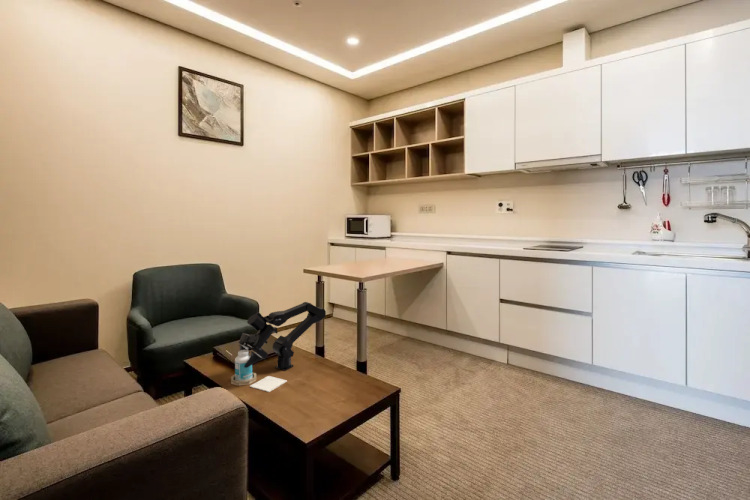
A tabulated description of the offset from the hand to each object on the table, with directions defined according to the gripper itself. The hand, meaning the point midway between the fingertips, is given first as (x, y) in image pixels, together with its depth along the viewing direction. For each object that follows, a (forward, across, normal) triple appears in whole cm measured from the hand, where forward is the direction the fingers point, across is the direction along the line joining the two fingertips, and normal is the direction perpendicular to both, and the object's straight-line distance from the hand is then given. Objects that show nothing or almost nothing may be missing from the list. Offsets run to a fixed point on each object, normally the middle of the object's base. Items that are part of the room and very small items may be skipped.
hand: (240, 364), depth 169 cm
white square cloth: (0, +12, +11) cm, 16 cm away
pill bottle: (+5, 0, +7) cm, 8 cm away
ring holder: (+4, 0, +6) cm, 8 cm away
